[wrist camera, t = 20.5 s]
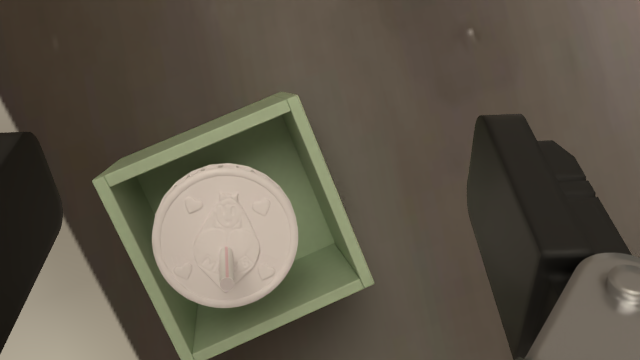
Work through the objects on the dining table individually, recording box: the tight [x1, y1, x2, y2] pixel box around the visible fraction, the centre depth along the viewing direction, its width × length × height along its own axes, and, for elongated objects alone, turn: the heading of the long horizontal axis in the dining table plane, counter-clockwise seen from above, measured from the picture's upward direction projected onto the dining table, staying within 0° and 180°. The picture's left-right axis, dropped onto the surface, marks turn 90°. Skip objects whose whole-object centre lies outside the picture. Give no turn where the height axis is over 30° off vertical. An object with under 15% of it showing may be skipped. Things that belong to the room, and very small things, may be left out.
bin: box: [92, 92, 374, 360], centre depth 33 cm, size 10×10×8 cm
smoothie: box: [152, 163, 298, 308], centre depth 29 cm, size 6×6×14 cm
